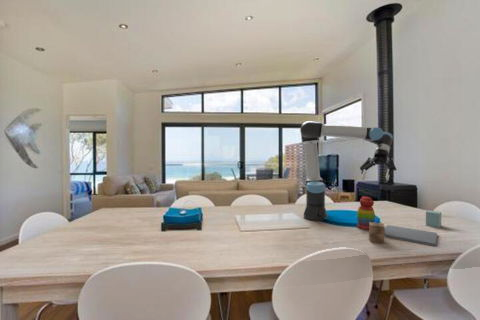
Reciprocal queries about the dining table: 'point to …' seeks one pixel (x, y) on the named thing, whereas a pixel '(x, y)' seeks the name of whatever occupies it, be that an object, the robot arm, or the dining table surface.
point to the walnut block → (376, 232)
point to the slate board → (411, 235)
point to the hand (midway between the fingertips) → (374, 178)
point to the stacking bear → (365, 213)
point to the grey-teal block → (433, 218)
